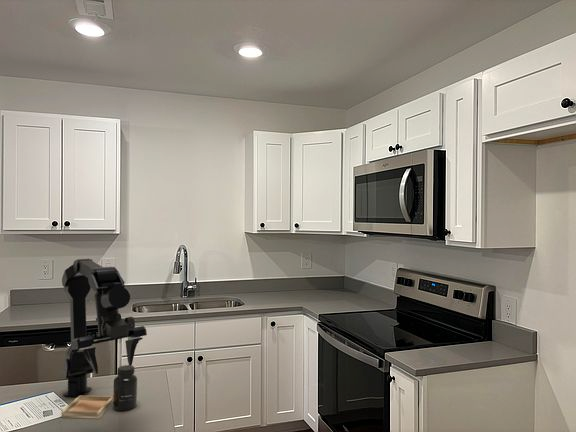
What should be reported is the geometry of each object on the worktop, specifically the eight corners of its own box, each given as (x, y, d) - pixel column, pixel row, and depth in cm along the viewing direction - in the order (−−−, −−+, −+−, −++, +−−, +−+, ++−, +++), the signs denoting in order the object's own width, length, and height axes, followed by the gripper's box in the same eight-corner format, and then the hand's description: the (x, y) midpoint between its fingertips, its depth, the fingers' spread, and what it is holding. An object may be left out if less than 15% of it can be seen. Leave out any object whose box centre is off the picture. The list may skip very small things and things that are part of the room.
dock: (79, 401, 142) (79, 395, 142) (114, 401, 141) (114, 396, 141) (61, 417, 131) (61, 411, 131) (99, 418, 130) (99, 412, 130)
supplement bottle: (123, 413, 134) (124, 373, 133) (108, 408, 137) (108, 369, 137) (141, 404, 140) (142, 366, 139) (126, 399, 143) (126, 362, 143)
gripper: (81, 314, 114) (88, 378, 112) (151, 303, 127) (158, 360, 124) (68, 318, 123) (74, 378, 120) (135, 308, 135) (142, 362, 132)
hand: (113, 369), depth 124 cm, fingers open, 9 cm apart
